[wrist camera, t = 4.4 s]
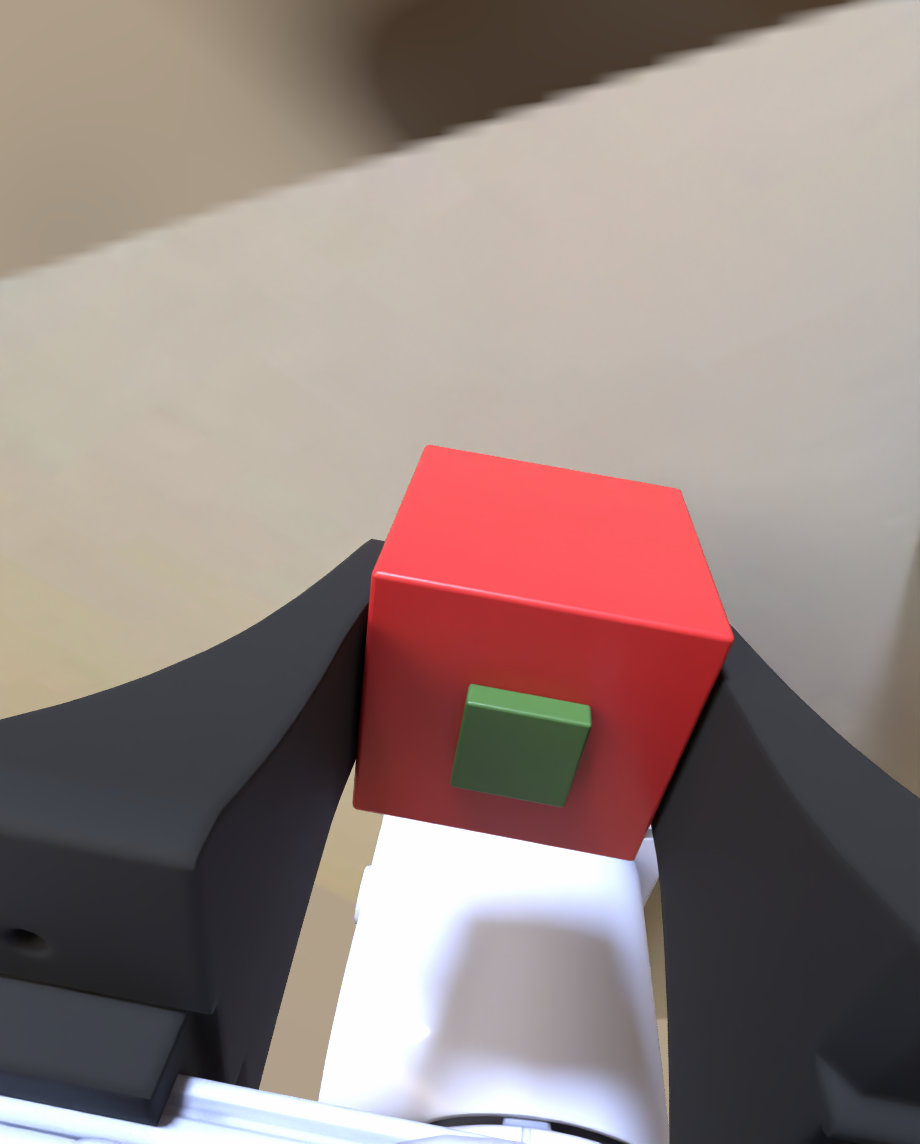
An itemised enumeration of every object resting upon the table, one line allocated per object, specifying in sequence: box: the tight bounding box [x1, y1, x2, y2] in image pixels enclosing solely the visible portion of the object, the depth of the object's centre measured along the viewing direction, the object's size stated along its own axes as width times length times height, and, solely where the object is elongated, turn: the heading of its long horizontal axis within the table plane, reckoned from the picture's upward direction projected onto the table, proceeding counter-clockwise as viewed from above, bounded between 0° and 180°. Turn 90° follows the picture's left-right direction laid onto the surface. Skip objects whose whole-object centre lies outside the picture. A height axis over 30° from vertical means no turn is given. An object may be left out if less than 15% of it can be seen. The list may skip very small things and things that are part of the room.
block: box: [353, 445, 734, 861], centre depth 11 cm, size 4×4×5 cm
